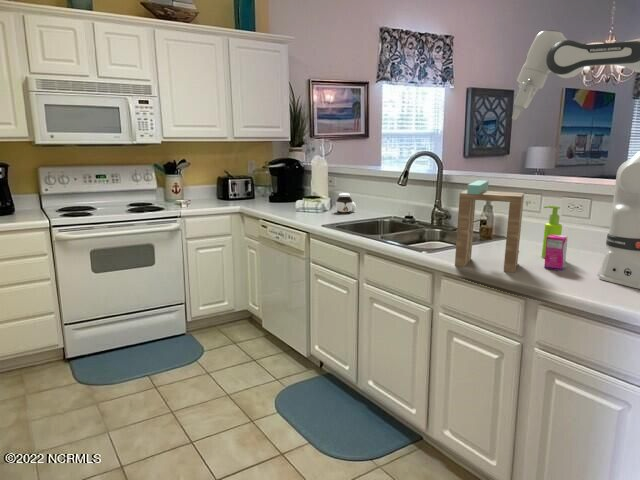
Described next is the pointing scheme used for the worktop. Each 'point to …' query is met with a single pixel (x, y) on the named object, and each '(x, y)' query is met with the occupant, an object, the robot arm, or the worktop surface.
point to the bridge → (468, 222)
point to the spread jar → (345, 204)
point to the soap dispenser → (551, 227)
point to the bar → (477, 187)
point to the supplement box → (555, 252)
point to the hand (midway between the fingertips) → (514, 119)
